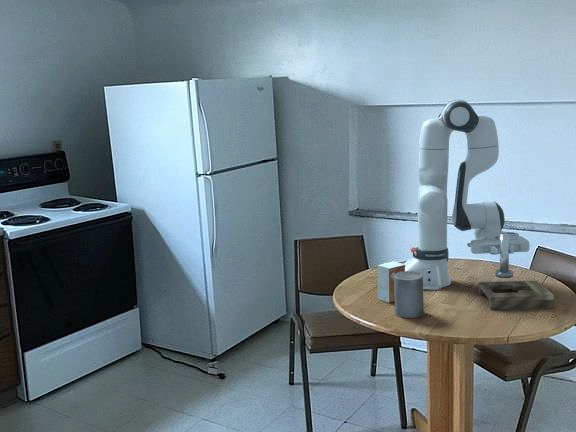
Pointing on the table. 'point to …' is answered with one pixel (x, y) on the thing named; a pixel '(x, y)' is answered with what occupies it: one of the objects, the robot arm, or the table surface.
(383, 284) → the small box
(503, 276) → the footed peg
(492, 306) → the keyhole plate
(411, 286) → the pillar candle
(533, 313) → the table surface
